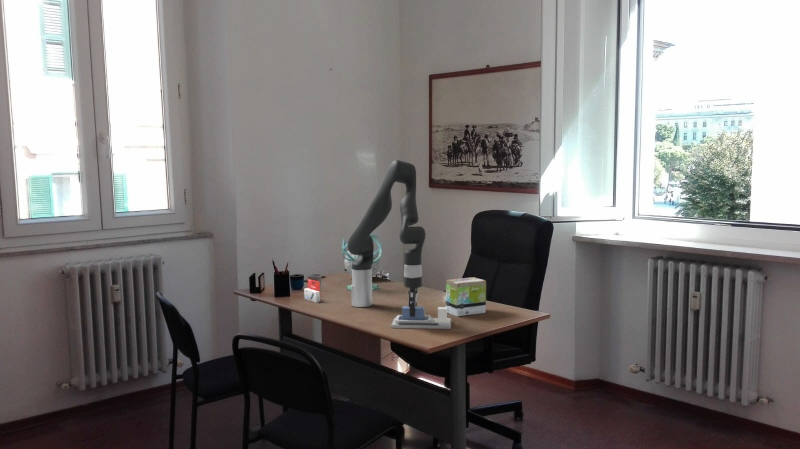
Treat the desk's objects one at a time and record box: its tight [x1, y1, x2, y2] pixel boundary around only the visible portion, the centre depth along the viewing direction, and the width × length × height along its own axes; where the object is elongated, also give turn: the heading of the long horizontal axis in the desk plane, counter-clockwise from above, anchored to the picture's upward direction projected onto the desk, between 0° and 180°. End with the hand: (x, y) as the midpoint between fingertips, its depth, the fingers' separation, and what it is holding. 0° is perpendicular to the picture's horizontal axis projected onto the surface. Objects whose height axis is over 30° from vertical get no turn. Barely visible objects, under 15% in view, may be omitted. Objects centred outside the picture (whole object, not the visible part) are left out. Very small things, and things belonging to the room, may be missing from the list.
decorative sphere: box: [344, 248, 381, 277], centre depth 368 cm, size 20×20×20 cm
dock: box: [390, 306, 452, 330], centre depth 270 cm, size 24×12×7 cm, turn 84°
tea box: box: [445, 277, 487, 317], centre depth 288 cm, size 15×10×15 cm, turn 117°
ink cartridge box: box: [303, 278, 321, 303], centre depth 317 cm, size 2×11×10 cm, turn 39°
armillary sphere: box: [341, 233, 383, 292], centre depth 343 cm, size 22×26×35 cm
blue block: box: [401, 305, 426, 320], centre depth 270 cm, size 9×4×6 cm, turn 84°
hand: (413, 313), depth 270 cm, fingers open, 8 cm apart
